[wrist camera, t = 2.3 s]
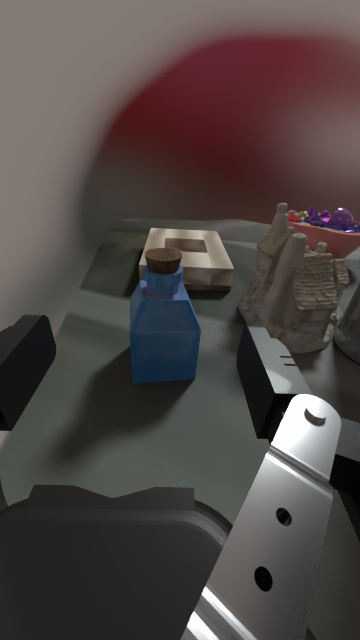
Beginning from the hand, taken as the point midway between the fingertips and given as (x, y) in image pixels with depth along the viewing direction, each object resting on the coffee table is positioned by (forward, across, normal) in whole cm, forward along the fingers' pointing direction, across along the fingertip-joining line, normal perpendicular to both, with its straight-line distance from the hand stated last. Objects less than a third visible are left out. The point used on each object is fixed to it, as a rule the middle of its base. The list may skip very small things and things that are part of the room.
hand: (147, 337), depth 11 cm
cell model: (+48, -32, +12) cm, 59 cm away
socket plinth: (+40, -3, +12) cm, 42 cm away
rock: (+22, -19, +12) cm, 32 cm away
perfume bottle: (+12, 0, +13) cm, 18 cm away
